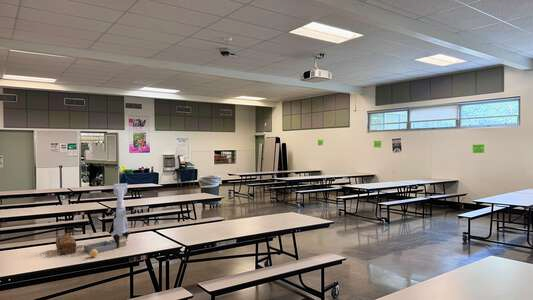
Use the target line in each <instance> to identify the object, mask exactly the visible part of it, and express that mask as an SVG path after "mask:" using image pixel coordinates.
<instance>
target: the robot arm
mask: <svg viewBox="0 0 533 300" xmlns="http://www.w3.org/2000/svg"><path fill="white" fill-rule="evenodd" d="M127 193H128V183H114V184H113V195H115V196H116V198H117V199H116V200H117V201H116V210H115V216H116V217H115V218H113V231H112V232H110V236H111V237H112V240H111V242H114V243H117V245H119V237H120V236H126V241H128V237H129V235H130V233H131V232H132V231H131V229H130V228H129V229H128V218H127V216H126V215H127V214H126V213H127V209H126V205H125V204H126V201H125V200H124V197H125V195H126V194H127Z"/></svg>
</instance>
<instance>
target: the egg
mask: <svg viewBox="0 0 533 300" xmlns="http://www.w3.org/2000/svg"><path fill="white" fill-rule="evenodd" d="M88 253H89V256H90V257H91V258H96V257H97V256H98V254H99V253H98V251H97V250H96V249H92V250H91V251H90V252H88Z"/></svg>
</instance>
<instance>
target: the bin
mask: <svg viewBox="0 0 533 300" xmlns="http://www.w3.org/2000/svg"><path fill="white" fill-rule="evenodd" d="M117 248H118V247H117V243H116V242H114V241H109V240H102V241H99V242H95V243H90V244H85V245H84V246H83V251H84V252H88V253H90V251H91V250H92V249H96V250H97V251H98V254H99V253H104V252H109V251H113V250H116V249H117Z"/></svg>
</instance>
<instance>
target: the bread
mask: <svg viewBox="0 0 533 300" xmlns="http://www.w3.org/2000/svg"><path fill="white" fill-rule="evenodd" d="M55 246H56V247H55V248H56V251H57V253H58V255H59V256H65V254H66V255H69V254H70V255H72V254H76V253H77V242H76V239H75V237H74V236H71V235H67V234H63V235H60V236H58V237H56V238H55Z"/></svg>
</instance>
